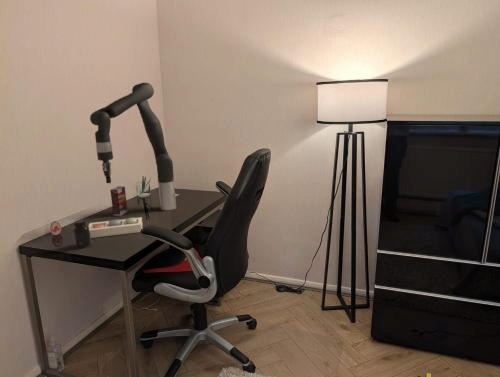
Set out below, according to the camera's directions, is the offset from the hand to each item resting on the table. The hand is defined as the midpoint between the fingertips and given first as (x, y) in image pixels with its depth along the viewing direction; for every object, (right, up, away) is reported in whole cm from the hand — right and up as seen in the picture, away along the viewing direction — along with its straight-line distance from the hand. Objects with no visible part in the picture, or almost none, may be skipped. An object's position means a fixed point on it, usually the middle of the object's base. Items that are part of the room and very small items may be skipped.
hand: (108, 182), depth 189 cm
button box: (+6, -25, -6) cm, 26 cm away
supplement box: (-2, -18, +23) cm, 29 cm away
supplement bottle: (-2, -30, -23) cm, 38 cm away
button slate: (+6, -22, -7) cm, 24 cm away
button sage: (+14, -21, -5) cm, 26 cm away
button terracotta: (-2, -25, -8) cm, 26 cm away
